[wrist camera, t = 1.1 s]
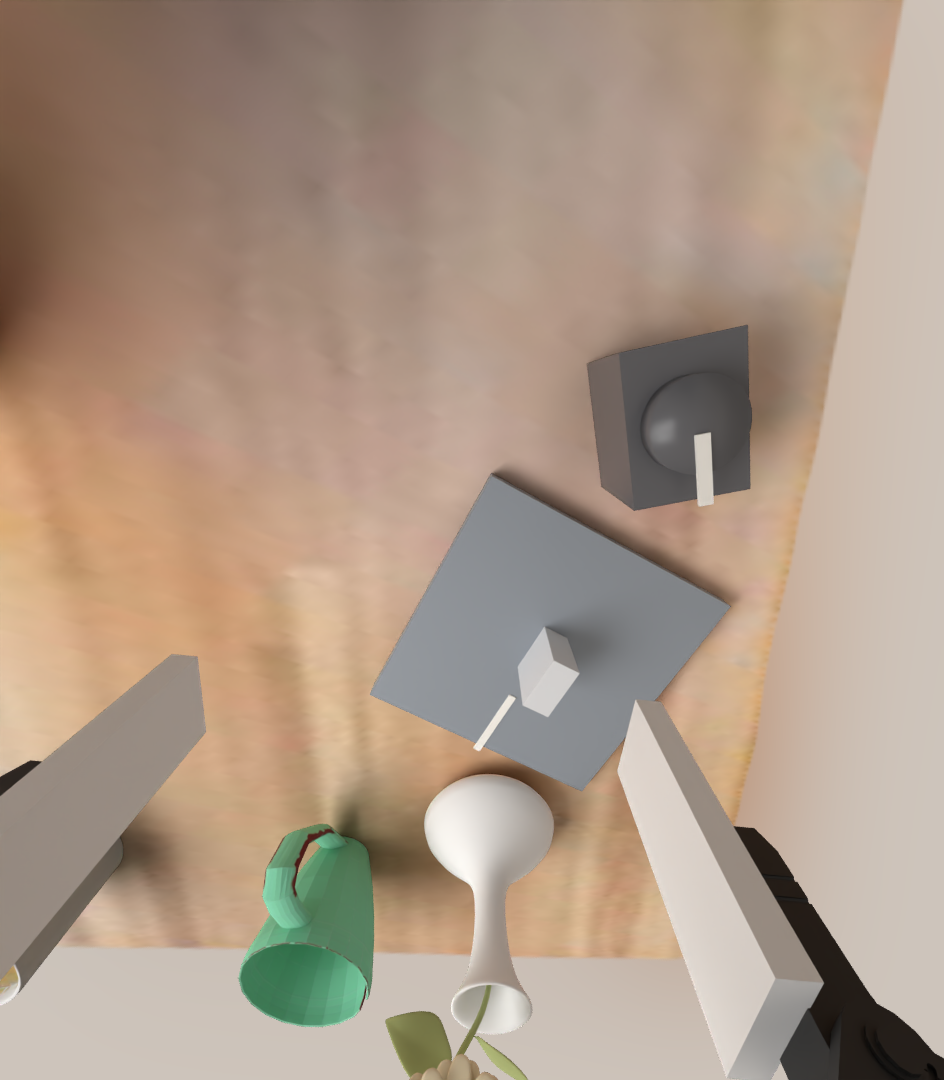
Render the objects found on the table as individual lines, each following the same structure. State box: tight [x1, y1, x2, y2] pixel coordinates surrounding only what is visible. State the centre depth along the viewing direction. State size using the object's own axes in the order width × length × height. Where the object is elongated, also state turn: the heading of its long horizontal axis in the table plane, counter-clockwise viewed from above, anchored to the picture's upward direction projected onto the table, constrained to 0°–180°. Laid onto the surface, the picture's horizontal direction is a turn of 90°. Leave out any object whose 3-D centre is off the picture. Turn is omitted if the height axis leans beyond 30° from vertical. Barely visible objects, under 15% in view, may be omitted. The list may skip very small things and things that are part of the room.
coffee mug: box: [0, 837, 123, 1005], centre depth 37 cm, size 13×10×10 cm
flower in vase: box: [386, 774, 554, 1080], centre depth 28 cm, size 13×11×25 cm
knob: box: [587, 325, 752, 511], centre depth 25 cm, size 8×6×9 cm
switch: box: [370, 473, 731, 791], centre depth 32 cm, size 20×20×6 cm
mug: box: [238, 824, 374, 1027], centre depth 37 cm, size 15×10×10 cm
